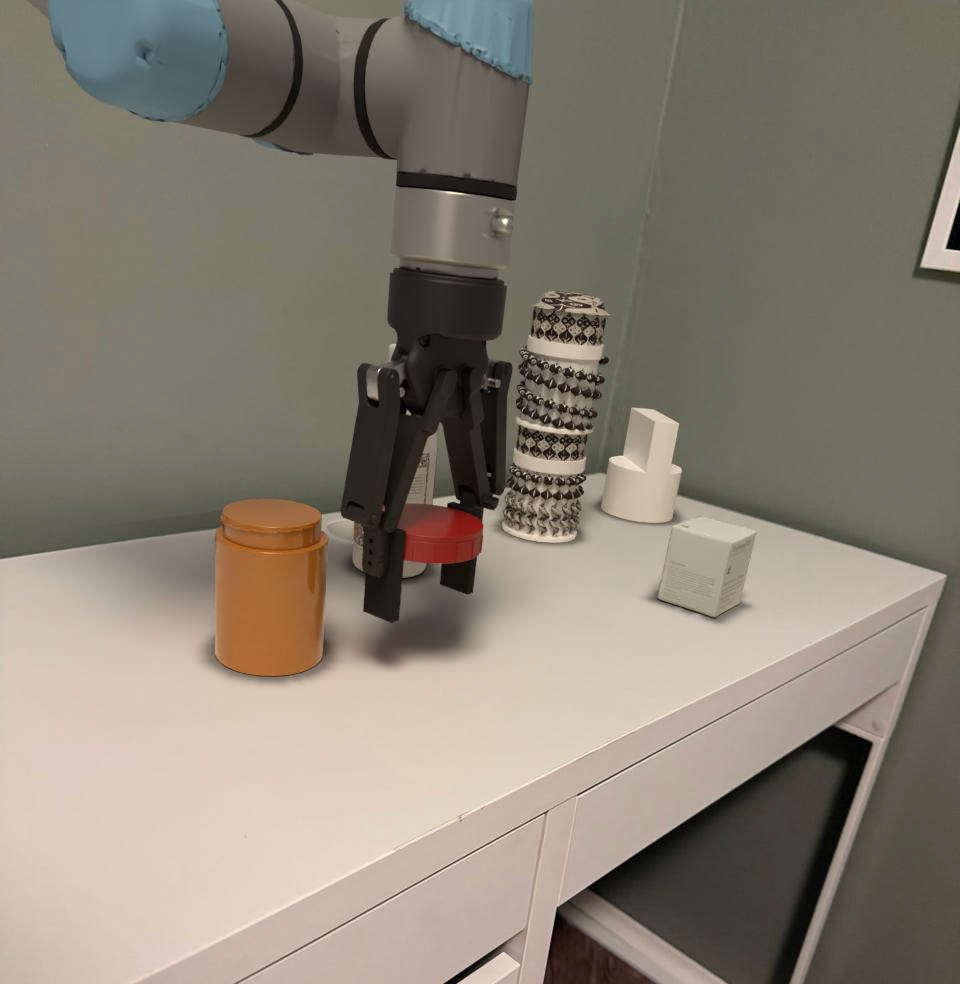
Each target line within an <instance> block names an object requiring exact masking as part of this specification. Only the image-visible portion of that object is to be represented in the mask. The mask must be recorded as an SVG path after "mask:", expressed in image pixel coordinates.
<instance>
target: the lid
mask: <svg viewBox="0 0 960 984" xmlns="http://www.w3.org/2000/svg"><path fill="white" fill-rule="evenodd" d="M382 511H384V512H385V506H383V509H382ZM397 528H399V529H402V530H405V531H406V539H405V552H404V560H407V561H413V562H420V563H427V564H432V565H441V564H448V563H459V562H464V561H468V560H471V559H473V558H475V557H477V558H478V556H479V555H480V554H481V553H482V551H483V550H482V549H483V541H484V522H483V520H482V521H481V520H480V519H478V518H477V517H475V516H473V515H471V514H469V513H466V512H463V511H460V510H457V509H453V508H449V507H447V506H445V505H444V506H443V505H437V504H433V505H430V504H413V503H407V504H405V506H404V509H403V512H402V514H401V517H400V520H399V523H398V526H397Z"/></svg>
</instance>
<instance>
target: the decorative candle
mask: <svg viewBox="0 0 960 984" xmlns="http://www.w3.org/2000/svg"><path fill="white" fill-rule="evenodd" d="M531 306H533V309H532V317H531V324H530V325H531V326H530V333H529V335H527V342H526V344H525V345H524V346H523V347H522V348H520V349H519V352H518V353H519V355H520V357H521V359H522V360H523V361H522V362H521V363H519V364H518V366H517V369H518V373H519V374H520V375H521V376H523V378H524V379H522V380H520V382H519V383H518V384H517V385H516V390H517V392H518V394H519V397H518V398H516V399H515V408H516V409H517V410H519V411H520V413H519V414H518V415H517V416H515V417H514V422H515V423H516V424H517V425H518V429H517V435H516V443H515V447H514V448H513V452H512V453H513V454H512V463H510V464H509V465H508V470H509V473H510V474H511V475H512V476H510V477H509V478H507V480H506V483H507V487H508V488H509V489H510V490H509V491H508V492H507V493H506V494H505V496H504V502H505V505H506V506H505V507H504V508H503V510H502V515H503V517H504V520H503V521H502V523H501V527H502V529H503V531H504V532H506V533H508V534H509V535H510V536H514V537H517V538H520V539H522V540H527V541H532V542H538V543H548V544H549V543H551V544H552V543H553V544H557V543H567V542H570V541H573V540H575V539H576V538H577V536H578V531H577V530H576V529H577V527H578V525H580V519H579V514H580V513H581V512H582V509H583V508H582V503H581V501H580V500H579V499H578V498H581V497H582V496H583V495H584V494H585V490H584V488H583V486H582V484H583V483H584V482H585V481H587V475H586V473H585V472H584V471H585V470H586V465H587V456H586V450H587V446H588V437H589V435H590V434H592V433H593V432H594V430H595V427H594V425H592V423H591V422H590V421H592V420H594V419H596V418H597V417H598V416H599V414H598V413H599V412H598V411H596V410H595V408H593V402H595V401H597V400H599V399H602V397H603V393H602V392H601V391H600V390H599V389H598V388H596V387H597V386H600V385H603V384H604V383H605V382H606V379H605V377H604V375H602V374H601V373H600V372H598V370H599V369H598V368H599V367H603V366H605V365H607V364H608V363H610V359H609V357H608V356H604V349H605V344H604V336H605V332H606V322H607V318H608V316H611V313H608V312H607V310H606V308H605V305H604V302H603V300H602V299H601V298H600V297H599V296H596V295H592V294H586V293H579V292H570V291H563V290H561V291H560V290H548V291H546V292H544V293H543V294H542V296H541V297H540V299H539V300H538V301H537V302H536V303H534V304H531Z"/></svg>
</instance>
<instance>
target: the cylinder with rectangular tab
mask: <svg viewBox="0 0 960 984" xmlns="http://www.w3.org/2000/svg"><path fill="white" fill-rule="evenodd" d="M679 428H680V423H679V422H677V421H675V419H674V420H673V419H672V418H670V417H668V416H667V415H665V414H664V413H661V412H660V411H657V410H656V409H654V408H653V409H652V408H643V407H631V408H630V413H629V420H628V424H627V430H626V436H625V440H624V441H625V442H624V447H623V453H622V455H615V456H611V457H609V459H608V463H607V468H606V473H605V474H606V475H605V481H604V486H603V492H602V498H601V505H600V508H601V510H602V511H603V512H604V513H606V514H608V515H611V516H612V517H616V518H620V519H622V520H627V521H631V522H637V523H646V524H647V523H648V524H661V523H667V522H670V521H672V520H673V517H674V512H675V507H676V503H677V498H678V493H679V486H680V483H681V478H682V473H683V468H682V467H680V466H678V465H676V464H674V463H673V459H674V453H675V448H676V443H677V438H678V432H679Z"/></svg>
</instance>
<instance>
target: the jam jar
mask: <svg viewBox="0 0 960 984" xmlns="http://www.w3.org/2000/svg"><path fill="white" fill-rule="evenodd" d="M220 515H221V516H220V519H219V520H220V522H221V524H222V525H220V526H219V527H218V528H216V530H215V532H214V654H215V657H216V659H217V661H218V662H219V663H220V664H222V665H223V666H224V667H226V668H228V669H230V670H233V671H235V672H238V673H242V674H246V675H252V676H259V677H280V676H289V675H296V674H299V673H302V672H306V671H309V670H310V669H312V668H314V667H316V666H317V665H318V664H319V663H320V662H321V660H322V658H323V655H324V635H325V634H324V633H325V617H326V616H325V614H326V592H327V573H328V554H329V553H328V550H329V536H328V535H327V533H326V532H325V531H323V530H322V526H323V525H322V524H323V523H322V522H323V514H322V513H321V511H319V509H317V508H315V507H313V506H311V505H309V504H306V503H303V502H298V501H294V500H287V499H281V498H280V499H279V498H250V499H242V500H237V501H233V502H231V503H228V504H226V505H225V506H224V507H223V508H222V513H221V514H220Z"/></svg>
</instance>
